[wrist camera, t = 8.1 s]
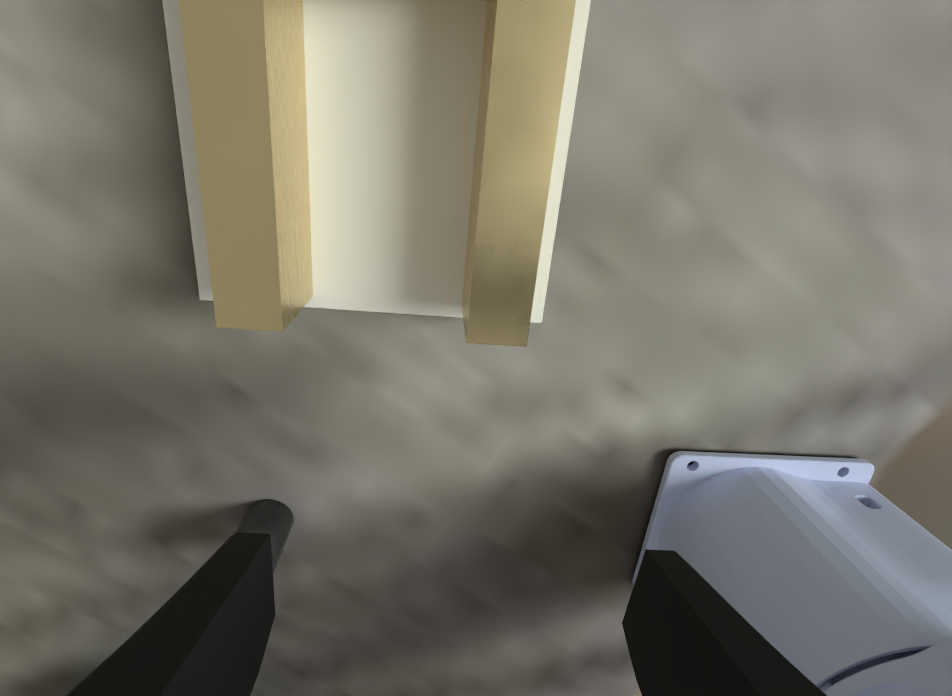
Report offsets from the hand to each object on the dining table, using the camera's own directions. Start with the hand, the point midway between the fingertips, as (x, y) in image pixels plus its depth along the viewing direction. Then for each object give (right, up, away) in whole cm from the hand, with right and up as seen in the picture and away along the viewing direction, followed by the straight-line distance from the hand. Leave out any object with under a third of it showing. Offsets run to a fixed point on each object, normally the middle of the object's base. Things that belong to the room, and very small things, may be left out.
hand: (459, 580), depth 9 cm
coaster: (-3, +12, +6) cm, 13 cm away
